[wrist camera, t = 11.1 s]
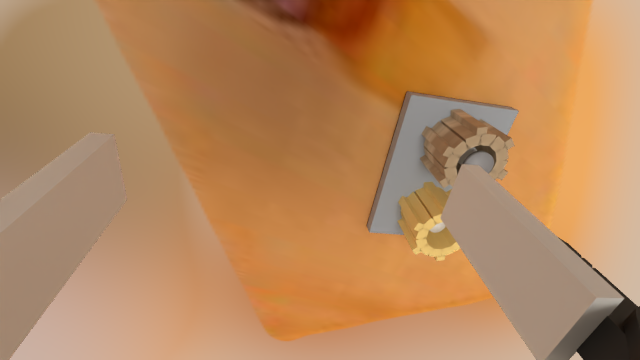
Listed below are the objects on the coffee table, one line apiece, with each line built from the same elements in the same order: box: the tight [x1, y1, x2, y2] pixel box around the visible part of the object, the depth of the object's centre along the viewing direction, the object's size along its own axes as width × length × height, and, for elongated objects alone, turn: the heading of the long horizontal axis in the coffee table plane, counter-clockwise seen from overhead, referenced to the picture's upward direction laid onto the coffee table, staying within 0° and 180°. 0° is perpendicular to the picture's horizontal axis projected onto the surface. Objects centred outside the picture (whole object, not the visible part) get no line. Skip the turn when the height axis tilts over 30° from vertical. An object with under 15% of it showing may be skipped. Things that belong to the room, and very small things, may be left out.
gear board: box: [367, 92, 519, 235], centre depth 40 cm, size 20×14×8 cm
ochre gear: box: [398, 181, 460, 261], centre depth 42 cm, size 8×8×6 cm
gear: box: [420, 109, 515, 188], centre depth 38 cm, size 8×8×6 cm
